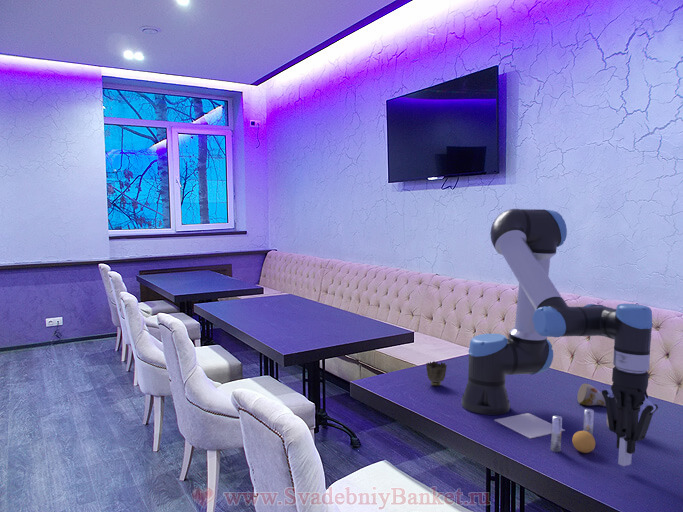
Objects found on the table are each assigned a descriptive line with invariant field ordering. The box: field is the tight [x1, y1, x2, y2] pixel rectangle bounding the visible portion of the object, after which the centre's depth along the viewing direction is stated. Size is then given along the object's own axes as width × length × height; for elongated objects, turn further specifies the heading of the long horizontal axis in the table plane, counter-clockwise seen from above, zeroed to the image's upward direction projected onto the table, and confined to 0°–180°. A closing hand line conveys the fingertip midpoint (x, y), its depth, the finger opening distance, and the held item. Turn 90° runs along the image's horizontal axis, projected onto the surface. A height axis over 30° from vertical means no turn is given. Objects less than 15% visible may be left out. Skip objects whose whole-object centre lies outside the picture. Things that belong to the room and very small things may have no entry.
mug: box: [577, 383, 606, 408], centre depth 167 cm, size 8×10×10 cm
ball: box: [571, 430, 596, 454], centre depth 131 cm, size 6×6×6 cm
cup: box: [425, 360, 448, 387], centre depth 183 cm, size 8×7×8 cm
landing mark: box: [494, 412, 566, 440], centre depth 148 cm, size 14×14×1 cm
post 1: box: [550, 415, 563, 453], centre depth 132 cm, size 2×2×9 cm
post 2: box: [582, 408, 595, 437], centre depth 137 cm, size 2×2×9 cm
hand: (624, 463), depth 121 cm, fingers closed
